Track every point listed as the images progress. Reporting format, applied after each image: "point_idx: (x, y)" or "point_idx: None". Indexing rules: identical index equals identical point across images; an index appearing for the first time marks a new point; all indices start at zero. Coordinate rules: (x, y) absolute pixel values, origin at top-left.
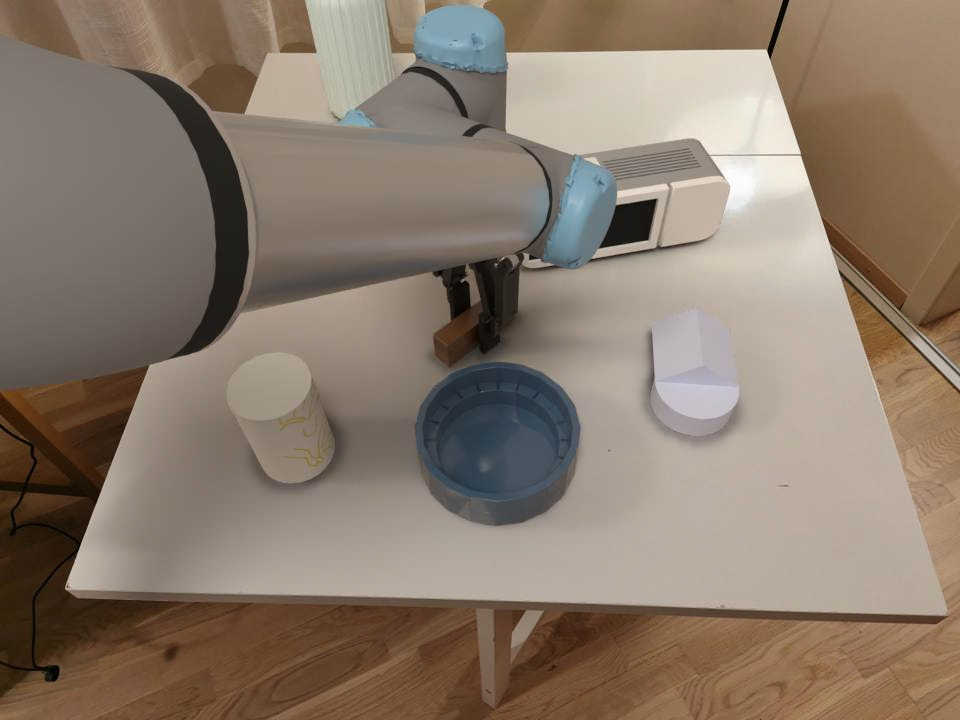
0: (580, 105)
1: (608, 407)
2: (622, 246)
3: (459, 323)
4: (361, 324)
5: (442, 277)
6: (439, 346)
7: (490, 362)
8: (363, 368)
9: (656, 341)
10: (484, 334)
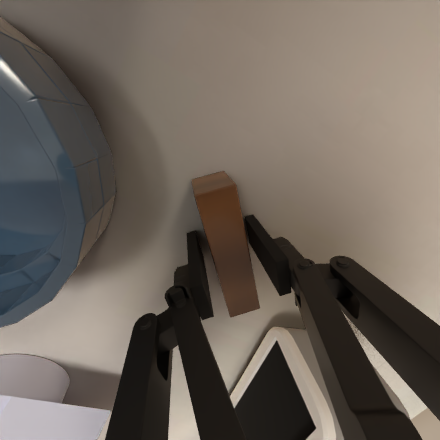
0: None
1: (38, 320)
2: (234, 404)
3: (230, 235)
4: (350, 91)
5: (323, 266)
6: (215, 183)
7: (78, 254)
8: (270, 37)
9: (77, 411)
10: (188, 258)
